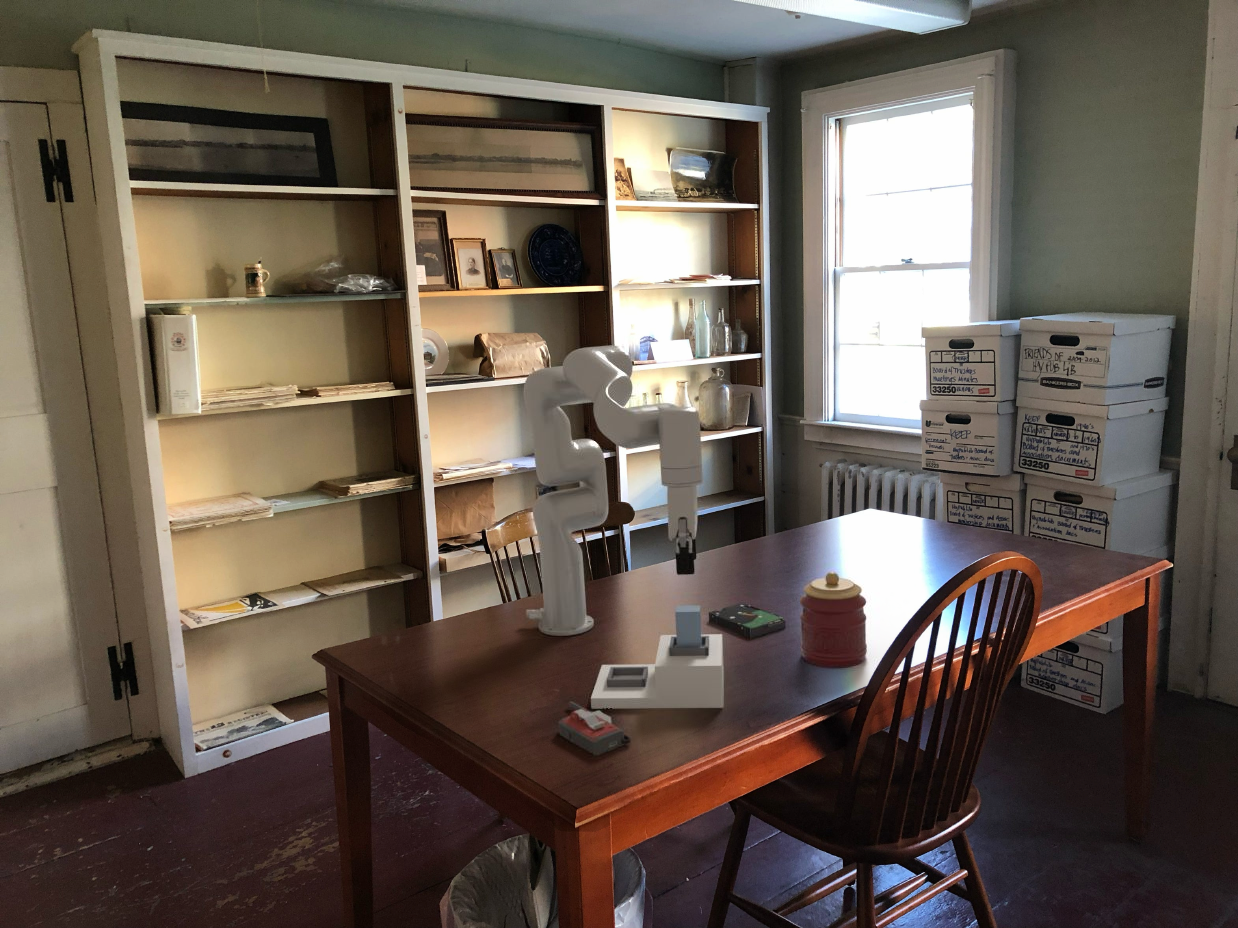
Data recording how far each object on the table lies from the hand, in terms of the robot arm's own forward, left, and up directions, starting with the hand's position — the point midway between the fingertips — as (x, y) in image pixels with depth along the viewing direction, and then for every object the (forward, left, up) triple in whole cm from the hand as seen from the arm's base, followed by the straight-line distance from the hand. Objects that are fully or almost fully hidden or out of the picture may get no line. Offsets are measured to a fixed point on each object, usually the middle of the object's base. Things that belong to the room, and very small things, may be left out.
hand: (686, 566), depth 177 cm
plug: (0, 0, -16) cm, 16 cm away
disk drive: (+11, +36, -25) cm, 45 cm away
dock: (-6, 0, -24) cm, 25 cm away
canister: (+28, +16, -24) cm, 40 cm away
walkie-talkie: (-18, -17, -25) cm, 35 cm away
